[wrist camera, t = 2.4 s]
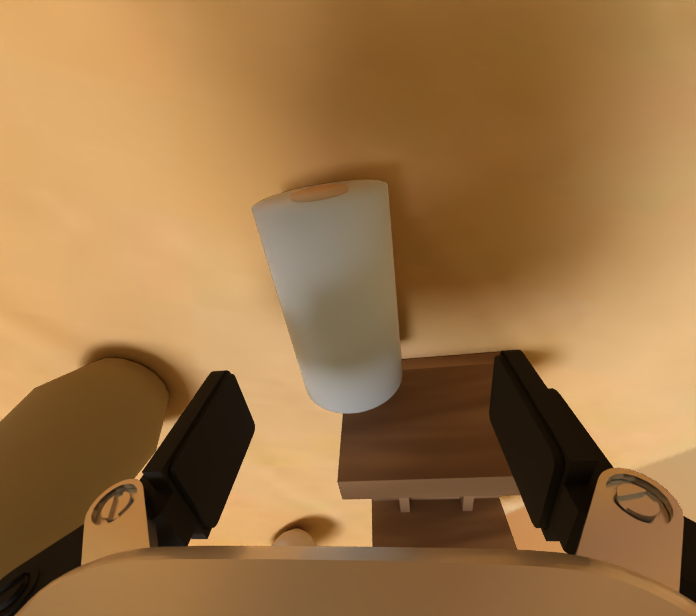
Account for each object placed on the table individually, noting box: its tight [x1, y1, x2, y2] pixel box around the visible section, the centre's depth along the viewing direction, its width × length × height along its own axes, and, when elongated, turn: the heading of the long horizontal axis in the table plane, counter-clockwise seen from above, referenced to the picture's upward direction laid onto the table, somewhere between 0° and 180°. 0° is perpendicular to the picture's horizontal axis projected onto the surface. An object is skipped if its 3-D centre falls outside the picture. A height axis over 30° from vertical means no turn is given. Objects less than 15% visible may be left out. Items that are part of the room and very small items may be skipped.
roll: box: [252, 180, 402, 413], centre depth 15 cm, size 10×6×6 cm, turn 9°
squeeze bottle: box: [0, 358, 169, 580], centre depth 15 cm, size 8×8×18 cm
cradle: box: [338, 352, 520, 550], centre depth 21 cm, size 17×11×8 cm, turn 9°
